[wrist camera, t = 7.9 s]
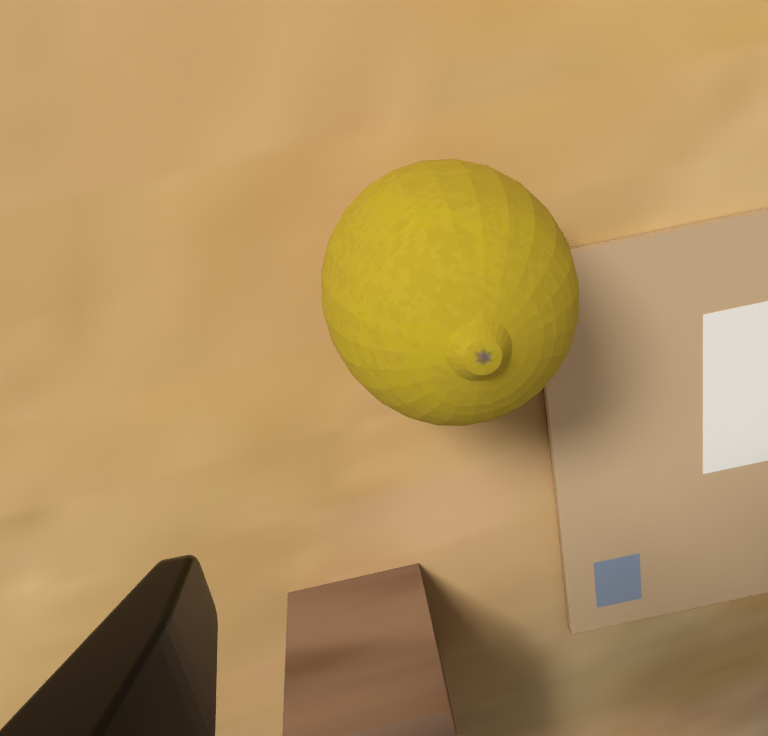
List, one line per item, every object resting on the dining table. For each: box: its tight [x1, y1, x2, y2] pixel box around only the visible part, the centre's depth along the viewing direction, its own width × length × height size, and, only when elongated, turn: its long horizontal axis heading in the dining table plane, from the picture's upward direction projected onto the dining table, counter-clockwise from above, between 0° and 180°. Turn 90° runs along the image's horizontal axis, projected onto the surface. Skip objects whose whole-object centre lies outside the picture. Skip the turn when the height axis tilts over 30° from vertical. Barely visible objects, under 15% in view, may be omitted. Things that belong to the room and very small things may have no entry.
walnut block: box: [283, 563, 457, 736], centre depth 23 cm, size 4×4×6 cm
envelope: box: [544, 208, 768, 634], centre depth 23 cm, size 14×10×1 cm
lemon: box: [321, 159, 579, 426], centre depth 16 cm, size 6×6×8 cm
